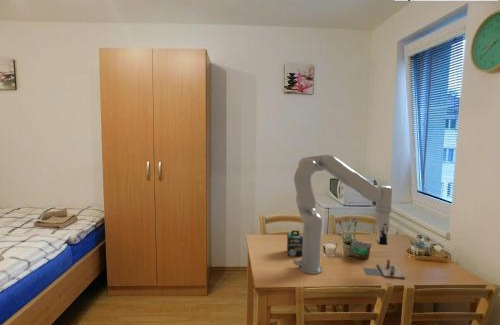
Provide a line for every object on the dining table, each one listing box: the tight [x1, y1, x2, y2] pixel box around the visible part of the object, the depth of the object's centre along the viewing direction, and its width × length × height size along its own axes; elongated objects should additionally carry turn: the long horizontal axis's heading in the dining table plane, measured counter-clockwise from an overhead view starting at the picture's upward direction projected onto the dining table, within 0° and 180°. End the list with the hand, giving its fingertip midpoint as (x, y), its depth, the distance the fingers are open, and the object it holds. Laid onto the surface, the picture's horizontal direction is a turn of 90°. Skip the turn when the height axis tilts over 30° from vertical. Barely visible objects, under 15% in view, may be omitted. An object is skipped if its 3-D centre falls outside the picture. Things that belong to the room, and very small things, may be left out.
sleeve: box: [376, 228, 389, 246], centre depth 166 cm, size 4×4×7 cm
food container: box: [350, 239, 373, 261], centre depth 184 cm, size 12×6×10 cm, turn 47°
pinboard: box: [376, 259, 406, 280], centre depth 166 cm, size 10×15×5 cm, turn 171°
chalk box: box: [286, 230, 303, 258], centre depth 189 cm, size 9×9×15 cm
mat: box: [362, 267, 384, 277], centre depth 165 cm, size 9×9×1 cm
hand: (381, 242), depth 166 cm, fingers closed on sleeve, 4 cm apart
